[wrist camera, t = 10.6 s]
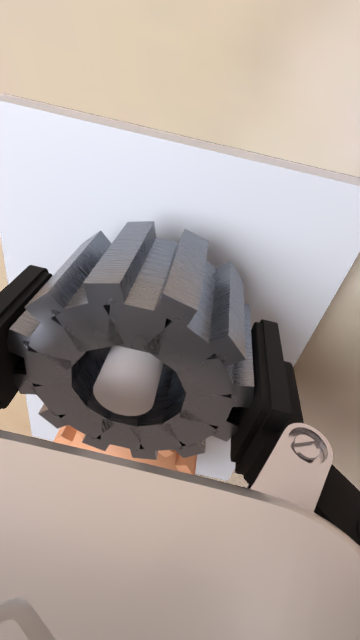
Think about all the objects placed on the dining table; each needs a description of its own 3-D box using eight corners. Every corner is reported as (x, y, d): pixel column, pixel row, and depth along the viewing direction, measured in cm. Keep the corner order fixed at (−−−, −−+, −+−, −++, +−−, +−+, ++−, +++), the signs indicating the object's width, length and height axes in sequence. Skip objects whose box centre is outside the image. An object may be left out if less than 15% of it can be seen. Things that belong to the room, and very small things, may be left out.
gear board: (3, 93, 12) (-250, 116, 6) (377, 182, 12) (530, 300, 6) (42, 418, 24) (-26, 538, 18) (228, 461, 24) (225, 596, 18)
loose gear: (60, 198, 11) (-14, 252, 8) (278, 250, 11) (295, 324, 8) (66, 356, 15) (20, 431, 12) (220, 392, 15) (215, 477, 12)
